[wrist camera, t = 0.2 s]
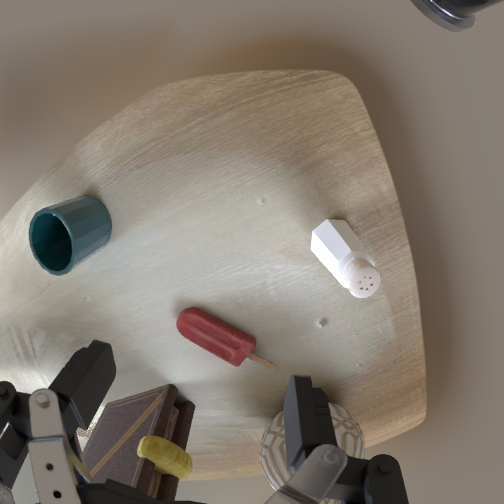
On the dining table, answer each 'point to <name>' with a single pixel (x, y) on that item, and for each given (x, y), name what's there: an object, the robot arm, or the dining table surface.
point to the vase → (275, 447)
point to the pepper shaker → (345, 257)
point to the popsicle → (219, 337)
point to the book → (142, 443)
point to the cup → (69, 233)
